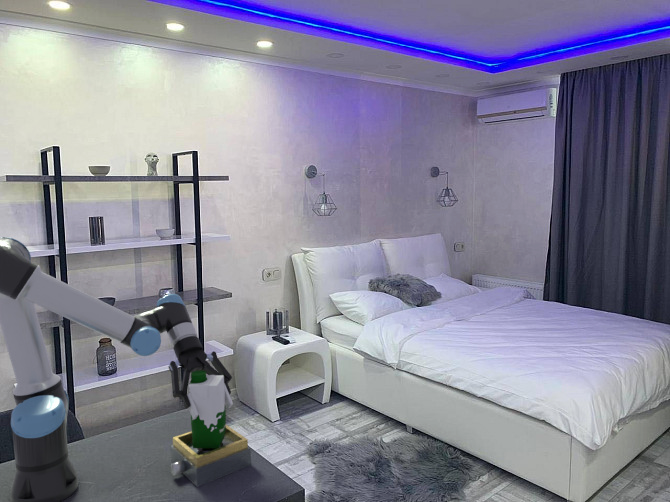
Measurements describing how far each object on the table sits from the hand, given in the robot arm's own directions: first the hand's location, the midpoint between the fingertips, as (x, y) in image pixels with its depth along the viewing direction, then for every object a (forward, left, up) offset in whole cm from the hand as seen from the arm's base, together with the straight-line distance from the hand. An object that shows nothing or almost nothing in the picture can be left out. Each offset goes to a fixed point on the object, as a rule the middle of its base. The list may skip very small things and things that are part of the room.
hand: (213, 411), depth 141 cm
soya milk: (0, +3, -10) cm, 11 cm away
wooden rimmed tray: (-2, +3, -16) cm, 17 cm away
